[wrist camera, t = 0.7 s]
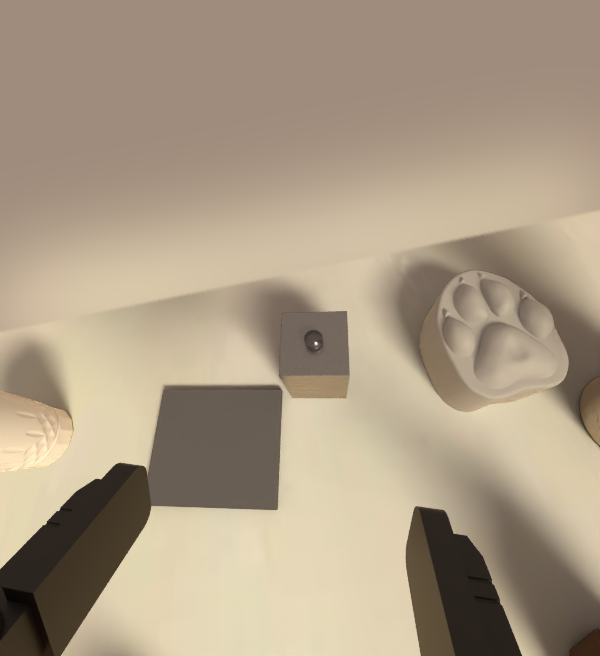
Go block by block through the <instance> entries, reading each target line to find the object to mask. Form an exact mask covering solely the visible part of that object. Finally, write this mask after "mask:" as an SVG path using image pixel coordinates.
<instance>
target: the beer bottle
mask: <svg viewBox="0 0 600 656" xmlns="http://www.w3.org/2000/svg"><path fill="white" fill-rule="evenodd" d="M570 656H600V630H598V629H597V630H595V631H594V632H592V633H591V634H590V635H589V636H587V637H586V638H585V639H583V640H582V641H581V642H580V643H578V644H577V645H576V646H575V647H573V648H572V649H571V650H570Z"/></svg>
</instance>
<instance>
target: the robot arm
mask: <svg viewBox="0 0 600 656" xmlns="http://www.w3.org/2000/svg"><path fill="white" fill-rule="evenodd" d="M580 412H581V416H582V420H583V422H584V424H585V427H586V429H587V431H588V432H589V433H590V435H591V436H592V438H593V439H594V440H595V441H596V442H597V443H598V444H599V445H600V377H598V378H596V379H594V380H592V381H591V382H590V383H589V384H588V385H587V386H586V387H585V389H584V391H583V392H582V395H581V399H580ZM150 510H151V499H150V492H149V485H148V478H147V471H146V468H145V467H144V466H139V465H132V464H125V463H118V464H116V465H115V466H113V467H112V468H111V470H110V471H109V472H108V473H107V474H106V475H105V476H104V477H103V478H102V479H95V480H93V481H92V482H90V483H89V484H87V485H86V486H84V487H83V488H81V489H79V490H78V491H76V492H75V493H74V494H73V495H72V496H71V497H70V499H69V500H68V501H67V502H66V503H65V504H64V505H63V506H62V507H61V508H60V511H57V512H56V513H55V514H54V515H53V516H52V517H51V518H50V519H49V520H48V521H47V524H46V525H43V526H42V527H41V528H40V529H39V530H38V531H37V532H36V533H35V534H34V535H33V536H32V537H31V538H30V539H29V540H28V541H27V543H26V544H25V545H24V546H23V547H22V548H21V549H20V550H19V551H18V552H17V553H16V554H15V555H14V556H13V557H12V558H11V559H10V560H9V561H8V562H7V563H6V564H5V565H4V566H3V567H2V568H1V569H0V656H61V654H62V653H63V651H64V650H65V648H66V647H67V645H68V644H69V642H70V640H71V639H72V637H73V636H74V634H75V633H76V631H77V630H78V628H79V627H80V625H81V623H82V622H83V620H84V619H85V617H86V616H87V614H88V613H89V611H90V610H91V608H92V607H93V605H94V603H95V602H96V600H97V599H98V597H99V596H100V594H101V593H102V591H103V590H104V588H105V587H106V585H107V583H108V582H109V580H110V579H111V577H112V576H113V574H114V573H115V571H116V570H117V568H118V567H119V565H120V563H121V562H122V560H123V559H124V557H125V556H126V554H127V553H128V551H129V550H130V548H131V547H132V545H133V543H134V542H135V540H136V539H137V537H138V536H139V534H140V533H141V531H142V530H143V528H144V526H145V525H146V523H147V520H148V518H149V515H150ZM406 568H407V575H408V581H409V587H410V593H411V599H412V605H413V611H414V617H415V623H416V629H417V635H418V641H419V647H420V653H421V656H522V654H521V652H520V649H519V647H518V644H517V642H516V639H515V637H514V634H513V632H512V629H511V627H510V624H509V621H508V619H507V616H506V614H505V611H504V609H503V606H502V605H501V604H500V599H499V596H498V594H497V591H496V589H495V586H494V585H493V584H492V579H491V576H490V574H489V571H488V569H487V566H486V563H485V561H484V558H483V556H482V555H481V554H480V552H479V551H478V550H477V548H476V547H475V546H474V545H473V543H472V542H471V541H470V539H469V538H468V537H467V536H465V535H458V534H453V531H452V528H451V525H450V522H449V519H448V516H447V514H446V512H445V511H444V510H439V509H432V508H425V507H418V506H416V507H415V508H414V512H413V516H412V521H411V526H410V530H409V535H408V540H407V545H406Z"/></svg>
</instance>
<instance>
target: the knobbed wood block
mask: <svg viewBox="0 0 600 656" xmlns="http://www.w3.org/2000/svg"><path fill="white" fill-rule="evenodd" d="M279 376H280V378H281V379H282V381H283V383H284V384H285V386H286V388H287V389H288V391H289V392H290V394H291V396H292V397H293V398H346V395H347V389H348V382H349V350H348V325H347V311H336V312H297V313H282V325H281V347H280V369H279Z"/></svg>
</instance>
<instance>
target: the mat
mask: <svg viewBox="0 0 600 656" xmlns="http://www.w3.org/2000/svg"><path fill="white" fill-rule="evenodd" d="M281 413H282V390H163V395H162V401H161V406H160V412H159V417H158V423H157V428H156V434H155V439H154V445H153V450H152V456H151V461H150V466H149V472H148V477H147V478H148V485H149V492H150V499H151V506H175V507H203V508H231V509H260V510H277V509H278V486H279V462H280V437H281Z"/></svg>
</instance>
